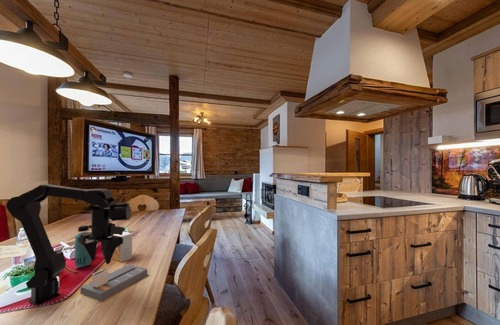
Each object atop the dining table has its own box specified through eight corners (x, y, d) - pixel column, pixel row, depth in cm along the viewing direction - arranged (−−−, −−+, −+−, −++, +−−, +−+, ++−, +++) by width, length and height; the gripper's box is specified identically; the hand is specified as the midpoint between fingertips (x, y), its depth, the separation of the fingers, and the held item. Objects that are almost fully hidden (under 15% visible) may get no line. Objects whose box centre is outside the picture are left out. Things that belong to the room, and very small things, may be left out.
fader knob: (97, 290, 78) (97, 275, 78) (92, 289, 79) (92, 273, 80) (107, 285, 82) (108, 270, 82) (103, 283, 83) (103, 268, 83)
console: (100, 301, 75) (100, 293, 75) (80, 293, 80) (80, 286, 80) (147, 274, 93) (147, 268, 93) (129, 269, 98) (129, 264, 98)
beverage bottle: (89, 263, 105) (89, 223, 106) (93, 266, 101) (93, 225, 102) (72, 267, 100) (73, 226, 101) (76, 272, 96) (76, 228, 97)
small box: (111, 259, 110) (111, 234, 110) (123, 254, 115) (123, 231, 115) (120, 262, 106) (120, 236, 106) (132, 257, 111) (132, 233, 111)
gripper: (135, 218, 85) (135, 257, 84) (106, 215, 92) (106, 250, 92) (107, 225, 75) (107, 269, 74) (77, 221, 82) (77, 261, 82)
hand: (100, 261), depth 81 cm, fingers open, 9 cm apart
